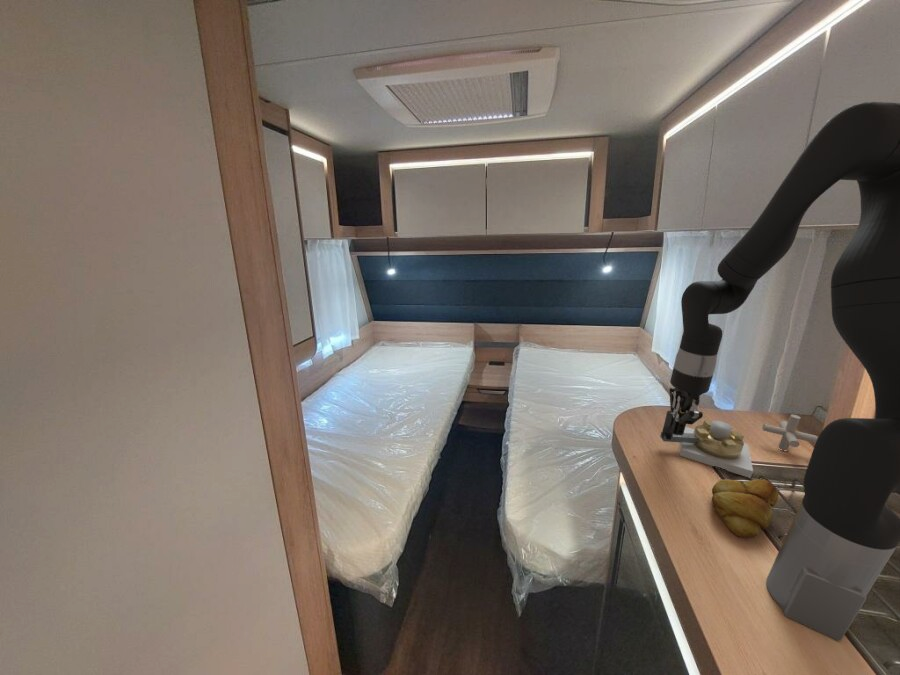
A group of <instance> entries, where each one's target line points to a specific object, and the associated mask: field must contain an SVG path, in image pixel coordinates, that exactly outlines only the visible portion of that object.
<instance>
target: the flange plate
mask: <svg viewBox="0 0 900 675" xmlns="http://www.w3.org/2000/svg"><path fill="white" fill-rule="evenodd" d="M712 421H713V422H712V424H711V427H710V431H709V434H710V435H711V436H712V437H714V438H716V439H719V440H723V439H726V440H728V439H729V436H730V433H731V431H733V428H732V426H731V424H728V423H727V422H724V421H721V420H712ZM694 430H695V428H692V427H688V426H685V430H684V433H692V434H693V433H694ZM679 450H680V452H679V456H680V457H683V458H685V459H688V460H691V461H695V462H699V463H701V464H705V465H708V466H711V467H714V466H718V467H721V468H723V469H726V470H727V471H726V470H725V471H726V472H730V473H733V474H737V475H740V476H743V477H745V478H749V479H751V478H752V476H753V473H754V468H753V464H752V463H753V461H752V459H751V454H750V453H751V452H750V448H749V444H748V443H745V442H744V446H743V448H742V451H741V454H740V456H739V457H738V458H736V459H723V458H718V457H715V456H712V455H710V454H707V453H705V452H703V451H702V450H700V449H699V448H697V447H696V446H695V445H694V443H680V449H679ZM723 469H722V470H723Z"/></svg>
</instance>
